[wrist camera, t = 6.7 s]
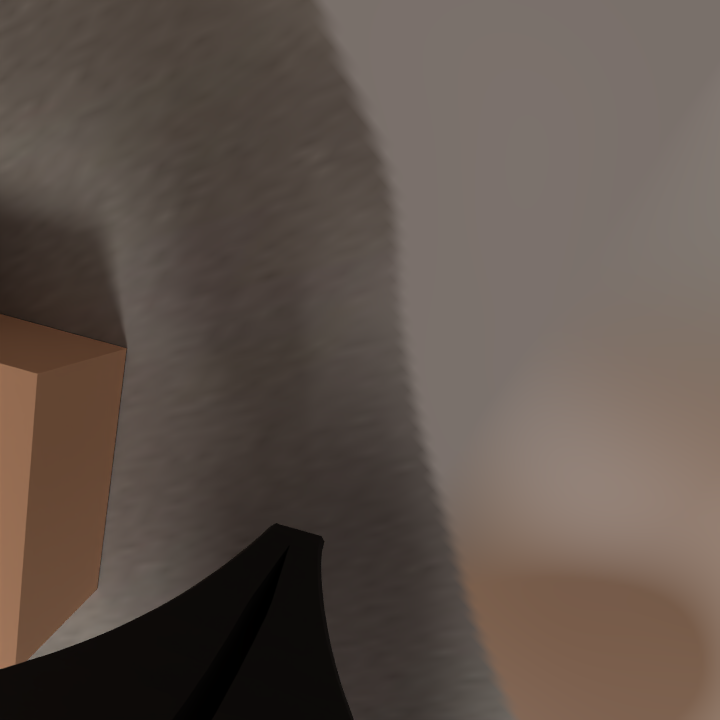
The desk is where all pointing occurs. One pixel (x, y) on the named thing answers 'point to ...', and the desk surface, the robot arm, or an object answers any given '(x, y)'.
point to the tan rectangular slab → (52, 476)
